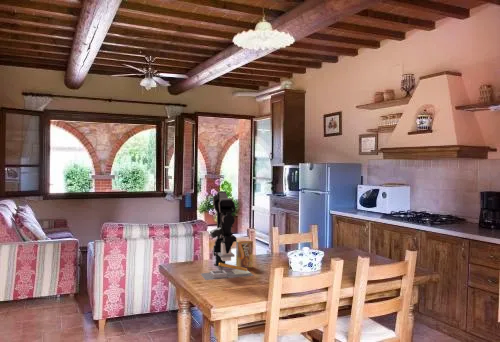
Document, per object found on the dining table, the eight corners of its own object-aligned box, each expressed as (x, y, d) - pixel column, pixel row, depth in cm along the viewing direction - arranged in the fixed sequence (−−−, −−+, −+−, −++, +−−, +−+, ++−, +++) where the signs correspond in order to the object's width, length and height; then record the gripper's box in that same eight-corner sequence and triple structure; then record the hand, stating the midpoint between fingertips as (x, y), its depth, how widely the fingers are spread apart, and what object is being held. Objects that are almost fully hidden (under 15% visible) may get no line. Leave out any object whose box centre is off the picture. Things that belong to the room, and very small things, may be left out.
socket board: (200, 275, 228) (200, 267, 228) (246, 271, 237) (246, 263, 237) (205, 282, 216) (205, 273, 216) (254, 277, 225) (254, 269, 225)
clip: (217, 265, 231) (217, 263, 231) (220, 264, 232) (220, 262, 232) (245, 271, 219) (245, 268, 219) (247, 270, 221) (247, 267, 221)
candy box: (250, 265, 250) (250, 239, 249) (252, 267, 246) (253, 240, 245) (235, 266, 247) (236, 240, 246) (238, 268, 243) (238, 241, 242)
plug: (217, 258, 229) (217, 242, 228) (230, 257, 231) (230, 241, 230) (221, 262, 222) (221, 244, 221) (234, 261, 224) (234, 243, 224)
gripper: (207, 220, 232) (207, 249, 232) (215, 226, 214) (215, 257, 215) (227, 220, 235) (227, 248, 236) (236, 225, 218) (236, 255, 218)
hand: (226, 252), depth 226 cm, fingers closed on plug, 4 cm apart
